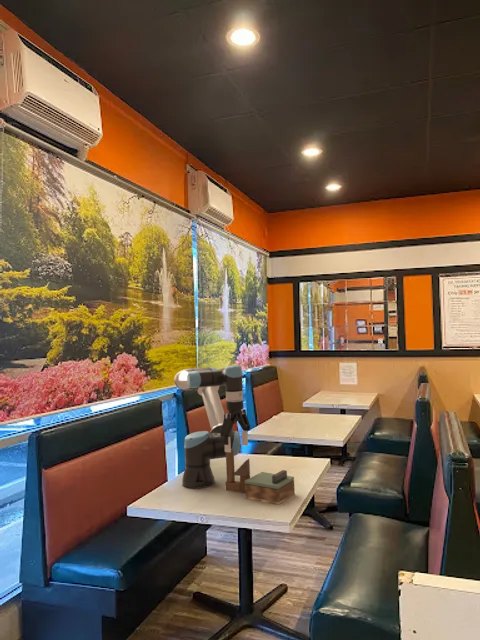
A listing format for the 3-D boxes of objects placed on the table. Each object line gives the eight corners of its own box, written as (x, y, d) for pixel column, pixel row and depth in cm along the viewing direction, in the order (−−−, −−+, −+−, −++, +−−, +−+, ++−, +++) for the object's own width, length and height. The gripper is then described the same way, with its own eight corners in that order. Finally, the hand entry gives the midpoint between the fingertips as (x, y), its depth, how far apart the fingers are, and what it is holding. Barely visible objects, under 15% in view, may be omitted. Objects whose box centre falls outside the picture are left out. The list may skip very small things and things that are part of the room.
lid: (244, 483, 209) (244, 473, 209) (262, 474, 220) (261, 465, 220) (277, 489, 200) (277, 478, 200) (294, 479, 211) (293, 469, 211)
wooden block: (247, 493, 215) (246, 451, 216) (225, 490, 220) (223, 450, 220) (250, 490, 219) (249, 449, 219) (228, 488, 223) (227, 448, 223)
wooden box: (245, 498, 209) (244, 484, 209) (262, 488, 220) (262, 475, 220) (278, 504, 200) (277, 489, 200) (294, 494, 211) (294, 480, 211)
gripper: (225, 405, 207) (227, 456, 207) (256, 397, 228) (258, 443, 227) (210, 404, 211) (212, 454, 211) (243, 396, 232) (245, 441, 232)
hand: (236, 448), depth 219 cm, fingers open, 13 cm apart
